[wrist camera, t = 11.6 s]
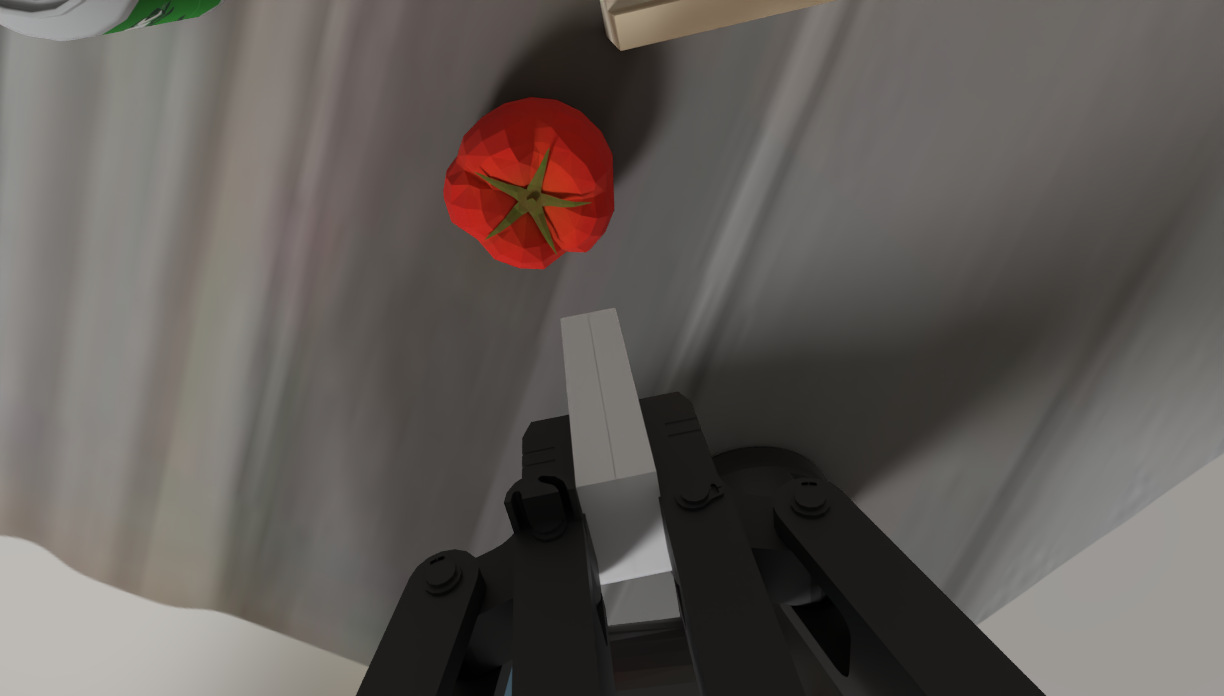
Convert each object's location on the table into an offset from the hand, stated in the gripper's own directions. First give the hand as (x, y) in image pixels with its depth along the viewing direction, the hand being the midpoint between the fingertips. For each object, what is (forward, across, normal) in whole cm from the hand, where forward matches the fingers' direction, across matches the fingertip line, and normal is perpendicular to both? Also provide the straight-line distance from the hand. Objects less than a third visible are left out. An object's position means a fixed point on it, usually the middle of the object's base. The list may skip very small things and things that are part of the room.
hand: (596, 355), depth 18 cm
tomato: (+25, -2, -1) cm, 25 cm away
